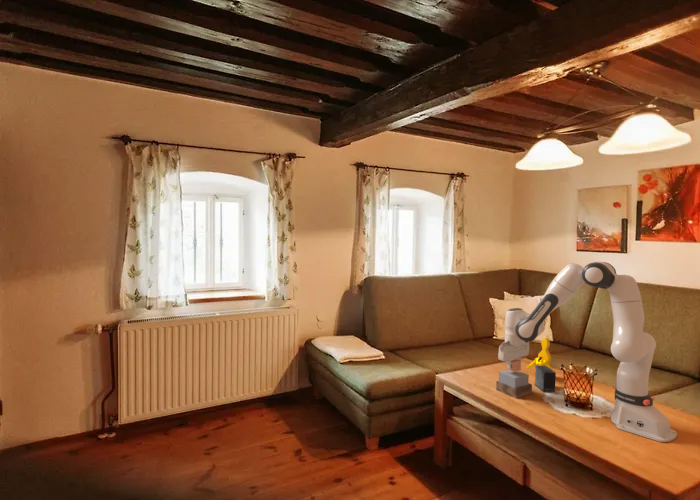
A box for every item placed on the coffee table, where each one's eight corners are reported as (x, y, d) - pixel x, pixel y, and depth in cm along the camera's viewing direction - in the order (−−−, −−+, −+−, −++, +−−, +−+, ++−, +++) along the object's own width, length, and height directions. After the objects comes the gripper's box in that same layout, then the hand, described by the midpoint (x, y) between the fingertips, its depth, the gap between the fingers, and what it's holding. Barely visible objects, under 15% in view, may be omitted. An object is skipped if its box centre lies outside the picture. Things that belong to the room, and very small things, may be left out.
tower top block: (528, 384, 204) (528, 374, 204) (515, 388, 199) (515, 378, 199) (511, 377, 213) (512, 368, 213) (498, 381, 208) (498, 371, 208)
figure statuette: (524, 373, 232) (524, 335, 231) (532, 371, 236) (533, 334, 234) (552, 384, 216) (553, 343, 215) (561, 381, 220) (562, 341, 219)
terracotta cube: (520, 370, 205) (520, 360, 205) (514, 372, 202) (514, 362, 202) (512, 367, 209) (512, 357, 209) (505, 369, 207) (506, 359, 206)
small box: (556, 392, 205) (556, 372, 205) (543, 392, 206) (543, 372, 205) (546, 384, 216) (547, 365, 215) (534, 384, 216) (534, 365, 215)
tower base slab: (531, 394, 204) (531, 384, 204) (516, 399, 198) (516, 389, 198) (511, 386, 215) (511, 376, 214) (496, 390, 209) (496, 381, 208)
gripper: (505, 344, 197) (505, 372, 198) (531, 338, 208) (531, 364, 208) (495, 341, 202) (494, 368, 203) (521, 335, 213) (520, 361, 214)
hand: (513, 366), depth 206 cm, fingers closed on terracotta cube, 5 cm apart
